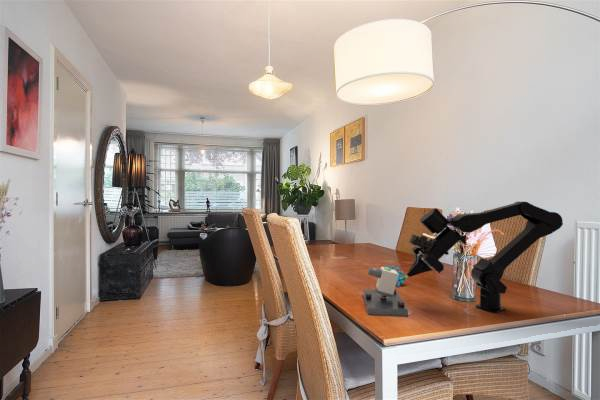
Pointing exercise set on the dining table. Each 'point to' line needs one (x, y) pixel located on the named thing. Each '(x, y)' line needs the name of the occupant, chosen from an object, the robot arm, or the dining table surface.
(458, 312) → the dining table surface
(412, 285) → the dining table surface
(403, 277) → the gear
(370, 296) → the base
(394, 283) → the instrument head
